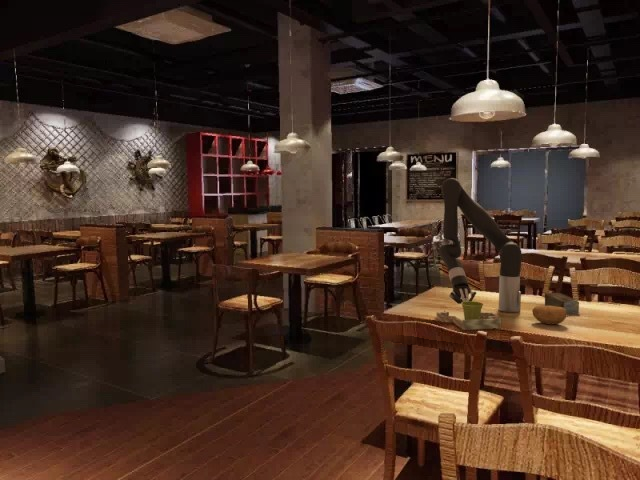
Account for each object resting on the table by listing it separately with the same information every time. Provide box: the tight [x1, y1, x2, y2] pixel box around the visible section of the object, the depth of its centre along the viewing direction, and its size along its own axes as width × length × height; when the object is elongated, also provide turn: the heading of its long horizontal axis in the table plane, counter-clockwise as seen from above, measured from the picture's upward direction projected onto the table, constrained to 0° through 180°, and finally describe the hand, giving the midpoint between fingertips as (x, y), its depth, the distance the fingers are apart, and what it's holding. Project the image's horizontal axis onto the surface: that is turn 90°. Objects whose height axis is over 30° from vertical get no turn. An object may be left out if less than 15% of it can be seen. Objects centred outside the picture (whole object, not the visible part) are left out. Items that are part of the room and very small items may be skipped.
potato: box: [531, 305, 568, 325], centre depth 224 cm, size 10×14×8 cm
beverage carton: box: [544, 292, 580, 315], centre depth 251 cm, size 8×19×7 cm, turn 2°
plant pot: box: [461, 300, 484, 320], centre depth 227 cm, size 9×9×9 cm
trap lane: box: [435, 310, 501, 331], centre depth 228 cm, size 26×23×4 cm
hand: (467, 310), depth 231 cm, fingers closed
